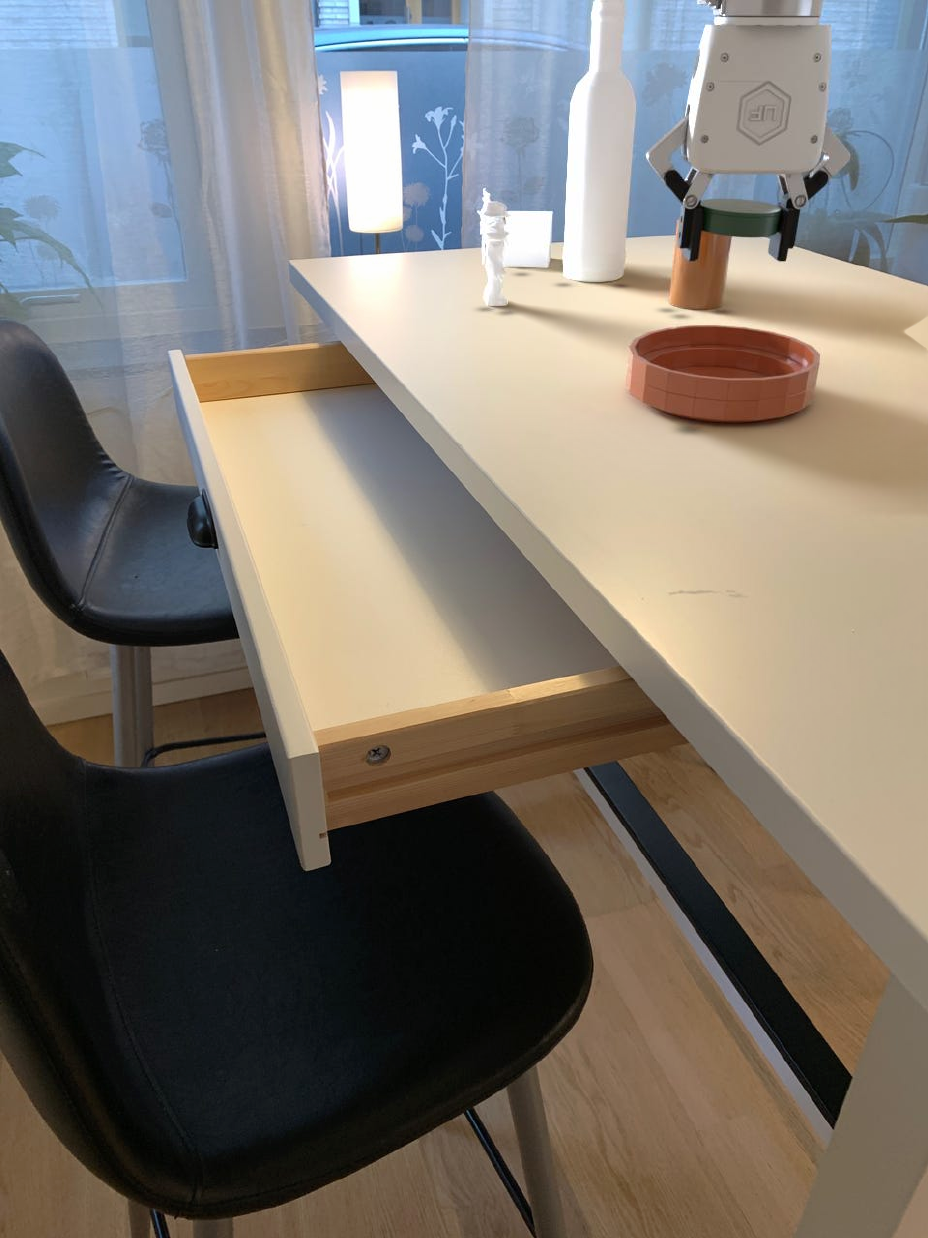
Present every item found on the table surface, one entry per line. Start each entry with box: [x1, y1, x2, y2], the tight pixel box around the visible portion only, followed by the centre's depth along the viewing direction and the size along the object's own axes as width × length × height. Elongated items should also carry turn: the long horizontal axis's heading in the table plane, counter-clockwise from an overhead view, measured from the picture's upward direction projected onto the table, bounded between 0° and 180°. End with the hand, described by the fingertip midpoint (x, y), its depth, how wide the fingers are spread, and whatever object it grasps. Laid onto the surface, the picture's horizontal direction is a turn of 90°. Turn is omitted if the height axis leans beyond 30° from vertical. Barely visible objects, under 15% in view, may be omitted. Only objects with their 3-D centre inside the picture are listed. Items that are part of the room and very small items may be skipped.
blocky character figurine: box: [477, 188, 512, 307], centre depth 112 cm, size 9×4×12 cm, turn 2°
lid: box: [700, 198, 781, 238], centre depth 80 cm, size 7×6×2 cm
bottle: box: [562, 0, 637, 283], centre depth 118 cm, size 8×8×30 cm
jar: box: [668, 217, 733, 311], centre depth 112 cm, size 6×6×11 cm
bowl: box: [625, 324, 821, 424], centre depth 86 cm, size 16×16×4 cm
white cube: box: [503, 210, 553, 269], centre depth 132 cm, size 6×6×6 cm
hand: (733, 255), depth 81 cm, fingers closed on lid, 6 cm apart
